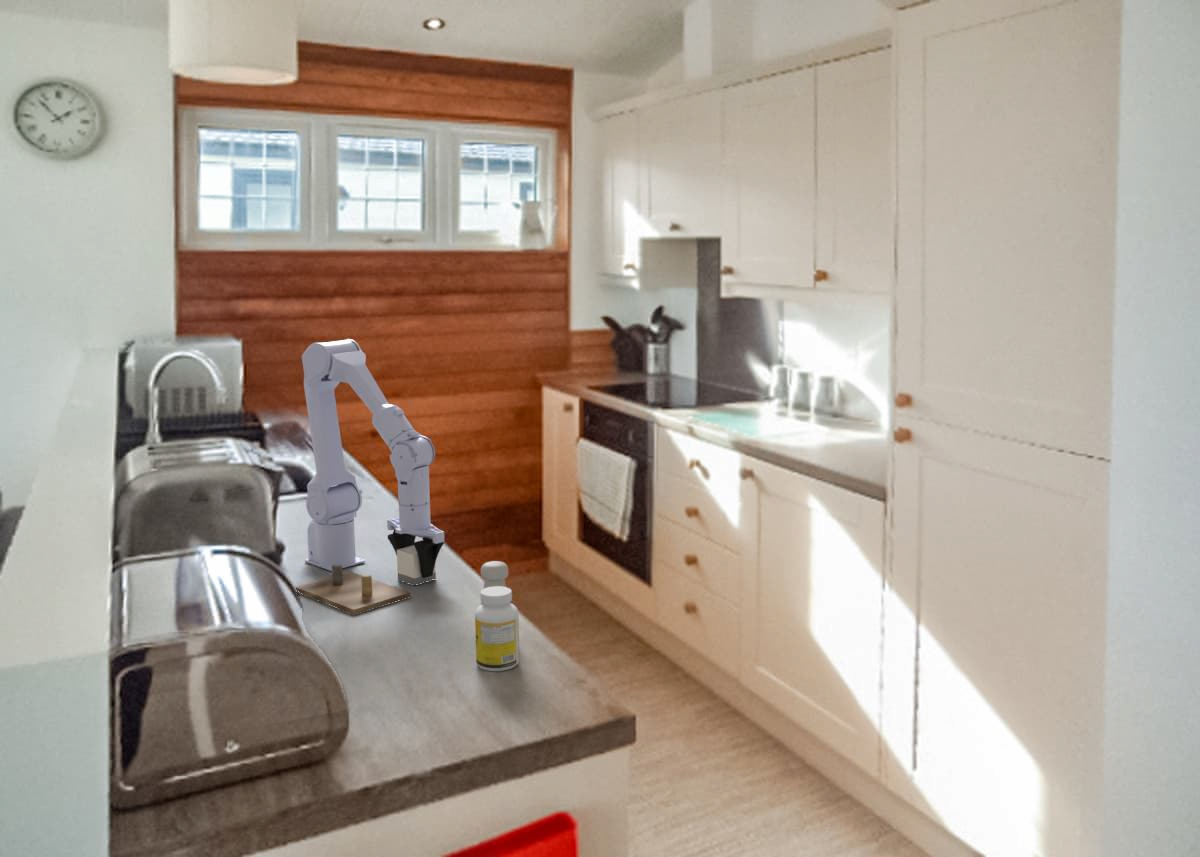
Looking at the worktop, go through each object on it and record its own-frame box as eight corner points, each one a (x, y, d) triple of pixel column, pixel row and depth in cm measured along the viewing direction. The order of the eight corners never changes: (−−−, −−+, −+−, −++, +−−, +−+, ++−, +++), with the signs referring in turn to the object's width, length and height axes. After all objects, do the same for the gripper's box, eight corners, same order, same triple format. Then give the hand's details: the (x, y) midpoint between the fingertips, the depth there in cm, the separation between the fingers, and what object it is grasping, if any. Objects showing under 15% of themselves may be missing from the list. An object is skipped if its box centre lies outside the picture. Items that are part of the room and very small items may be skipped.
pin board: (295, 592, 195) (294, 568, 194) (351, 576, 204) (350, 553, 203) (354, 615, 183) (352, 589, 182) (410, 597, 192) (409, 573, 191)
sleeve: (397, 580, 201) (396, 549, 200) (419, 574, 205) (418, 544, 204) (414, 586, 198) (413, 554, 197) (435, 579, 202) (434, 549, 200)
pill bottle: (495, 653, 166) (493, 581, 164) (528, 662, 163) (526, 589, 161) (467, 666, 161) (465, 592, 159) (500, 676, 157) (498, 601, 155)
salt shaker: (508, 649, 168) (506, 569, 165) (472, 647, 169) (471, 567, 166) (518, 636, 173) (516, 558, 171) (484, 633, 174) (482, 556, 172)
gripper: (372, 500, 201) (375, 569, 203) (421, 513, 191) (424, 586, 193) (403, 493, 206) (405, 561, 208) (452, 505, 196) (454, 577, 199)
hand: (416, 572), depth 201 cm, fingers open, 6 cm apart
